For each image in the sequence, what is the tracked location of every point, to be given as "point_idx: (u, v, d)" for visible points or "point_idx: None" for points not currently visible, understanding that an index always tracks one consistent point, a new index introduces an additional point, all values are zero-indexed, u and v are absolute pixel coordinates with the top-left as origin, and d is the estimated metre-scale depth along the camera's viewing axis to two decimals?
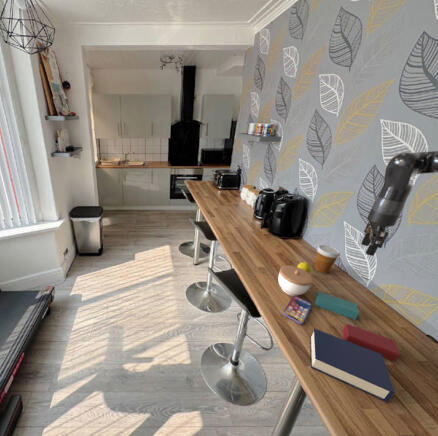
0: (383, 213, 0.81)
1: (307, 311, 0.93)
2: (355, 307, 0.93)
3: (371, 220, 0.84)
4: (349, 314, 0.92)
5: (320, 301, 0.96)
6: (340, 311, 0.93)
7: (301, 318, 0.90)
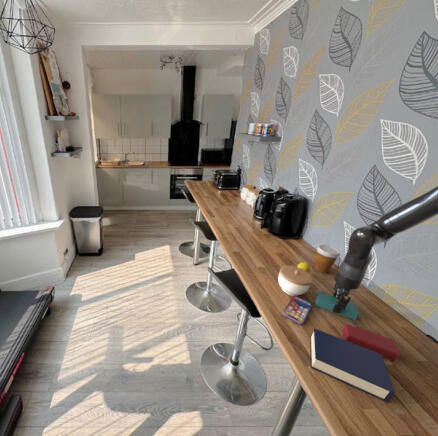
0: (347, 277, 0.88)
1: (307, 311, 0.93)
2: (355, 307, 0.93)
3: (337, 282, 0.91)
4: (349, 314, 0.92)
5: (320, 301, 0.96)
6: (340, 311, 0.93)
7: (301, 318, 0.90)
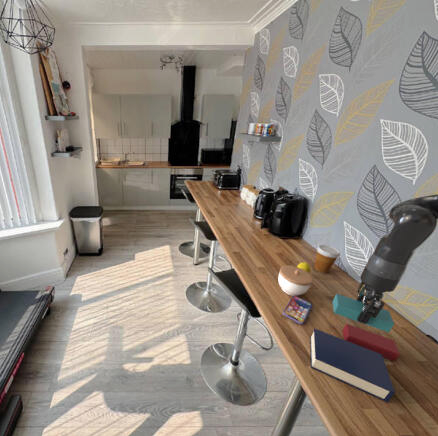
0: (379, 276, 0.64)
1: (307, 311, 0.93)
2: (388, 316, 0.69)
3: (365, 281, 0.68)
4: (380, 325, 0.68)
5: (340, 307, 0.73)
6: None
7: (301, 318, 0.90)
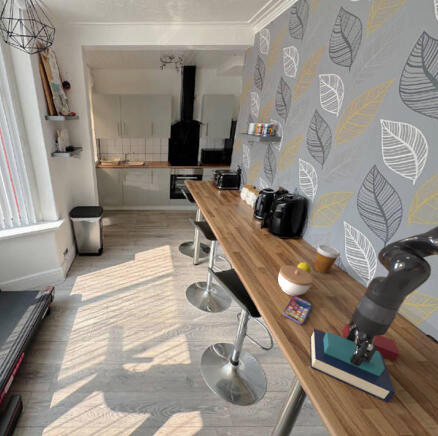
0: (371, 319, 0.63)
1: (307, 311, 0.93)
2: (379, 358, 0.68)
3: (356, 323, 0.66)
4: (371, 368, 0.67)
5: (330, 348, 0.71)
6: None
7: (301, 318, 0.90)
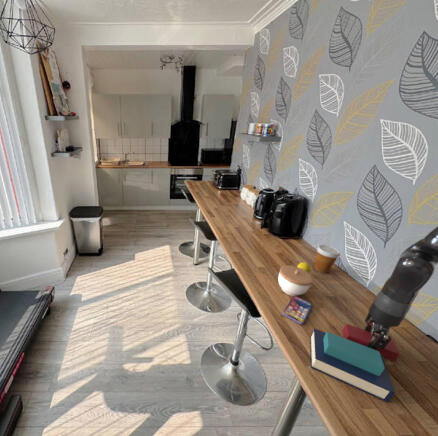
0: (387, 313, 0.72)
1: (307, 311, 0.93)
2: (379, 358, 0.68)
3: (373, 316, 0.75)
4: (371, 368, 0.67)
5: (330, 348, 0.71)
6: (358, 363, 0.69)
7: (301, 318, 0.90)
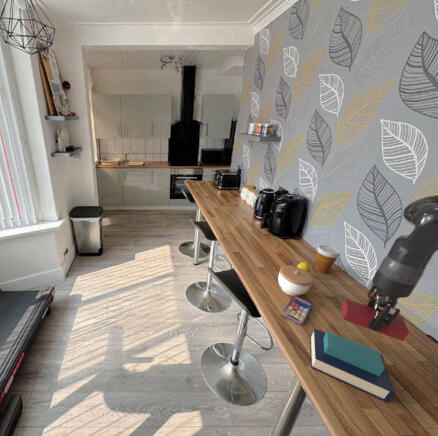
0: (394, 280, 0.59)
1: (307, 311, 0.93)
2: (379, 358, 0.68)
3: (378, 286, 0.63)
4: (371, 368, 0.67)
5: (330, 348, 0.71)
6: (358, 363, 0.69)
7: (301, 318, 0.90)
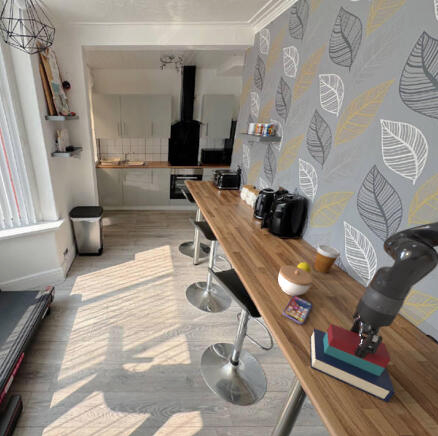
0: (376, 310, 0.61)
1: (307, 311, 0.93)
2: None
3: (361, 314, 0.65)
4: (371, 368, 0.67)
5: (330, 348, 0.71)
6: (358, 363, 0.69)
7: (301, 318, 0.90)
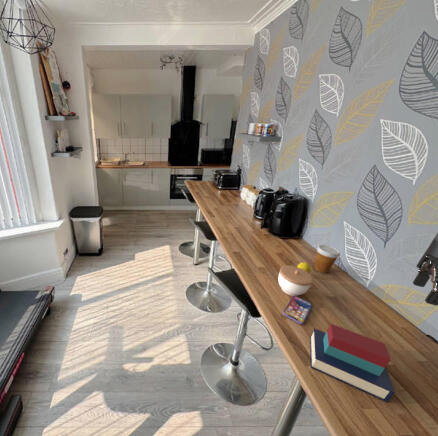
0: None
1: (307, 311, 0.93)
2: None
3: (435, 256, 0.59)
4: (371, 368, 0.67)
5: (330, 348, 0.71)
6: (358, 363, 0.69)
7: (301, 318, 0.90)
